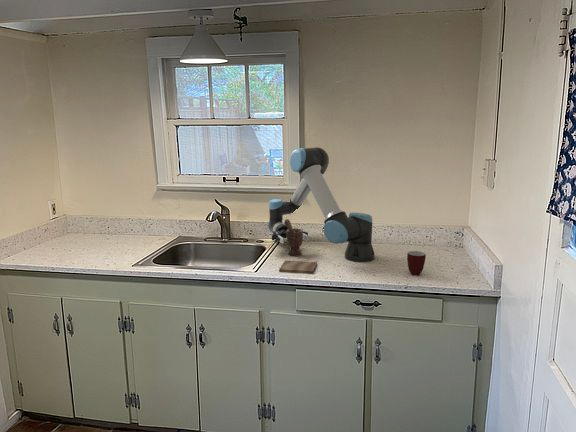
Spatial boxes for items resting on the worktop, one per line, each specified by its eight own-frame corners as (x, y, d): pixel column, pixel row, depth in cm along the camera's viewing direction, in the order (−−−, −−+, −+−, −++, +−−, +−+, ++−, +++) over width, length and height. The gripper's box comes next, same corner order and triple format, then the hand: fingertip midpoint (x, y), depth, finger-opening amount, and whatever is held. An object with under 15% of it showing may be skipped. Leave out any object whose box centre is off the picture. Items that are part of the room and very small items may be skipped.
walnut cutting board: (316, 264, 235) (317, 262, 234) (313, 273, 221) (313, 271, 221) (285, 262, 238) (284, 260, 237) (279, 271, 224) (279, 269, 224)
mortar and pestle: (298, 259, 243) (298, 220, 239) (282, 257, 246) (282, 219, 242) (304, 252, 254) (305, 216, 250) (289, 251, 257) (289, 215, 253)
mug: (404, 269, 226) (405, 249, 224) (421, 270, 226) (422, 249, 224) (407, 277, 216) (409, 255, 214) (426, 277, 216) (427, 256, 214)
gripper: (302, 235, 270) (317, 244, 251) (260, 239, 262) (272, 249, 243) (302, 222, 269) (317, 230, 249) (260, 225, 261) (272, 234, 241)
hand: (295, 239), depth 246 cm, fingers open, 13 cm apart
